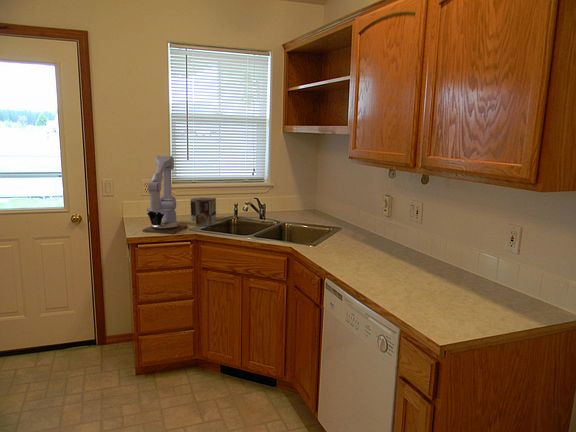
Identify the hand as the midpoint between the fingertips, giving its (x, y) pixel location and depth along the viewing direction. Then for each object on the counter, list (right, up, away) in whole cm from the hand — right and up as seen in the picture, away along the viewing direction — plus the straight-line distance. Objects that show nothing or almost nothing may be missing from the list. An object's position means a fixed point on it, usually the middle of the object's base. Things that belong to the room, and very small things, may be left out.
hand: (156, 224), depth 271 cm
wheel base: (+4, -3, +6) cm, 8 cm away
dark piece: (+21, +3, +40) cm, 45 cm away
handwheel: (+4, -1, +6) cm, 7 cm away
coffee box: (+25, -1, +21) cm, 32 cm away
